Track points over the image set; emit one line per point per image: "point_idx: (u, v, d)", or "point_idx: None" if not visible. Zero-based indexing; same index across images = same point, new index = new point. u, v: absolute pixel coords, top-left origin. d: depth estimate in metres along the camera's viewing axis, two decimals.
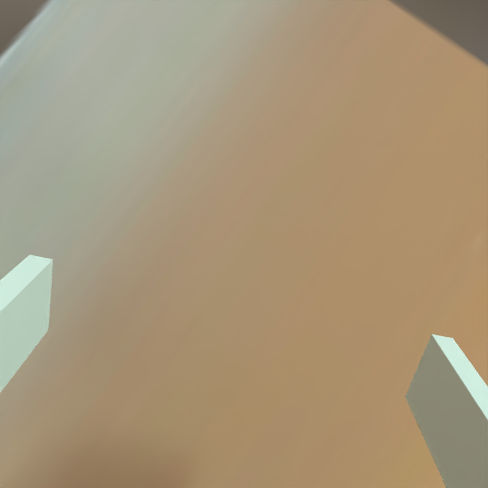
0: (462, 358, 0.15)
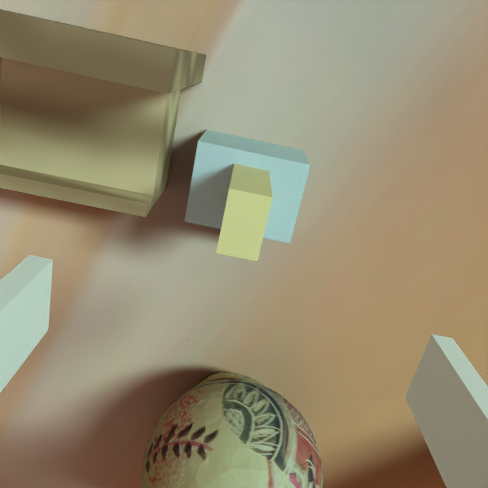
0: (462, 358, 0.15)
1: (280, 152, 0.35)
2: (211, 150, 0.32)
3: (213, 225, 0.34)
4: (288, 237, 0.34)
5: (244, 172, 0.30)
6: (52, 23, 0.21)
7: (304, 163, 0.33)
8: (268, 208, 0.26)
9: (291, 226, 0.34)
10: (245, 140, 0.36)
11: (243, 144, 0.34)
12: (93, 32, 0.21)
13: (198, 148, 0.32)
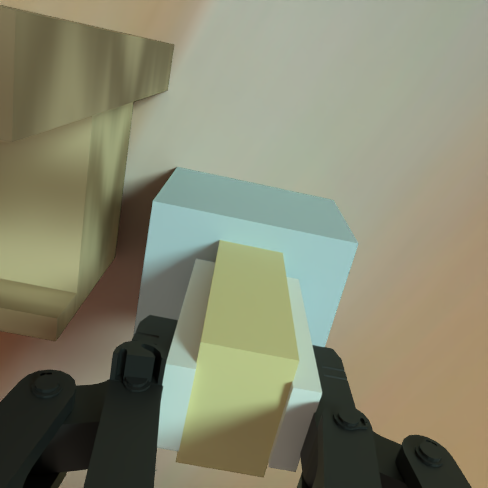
0: (296, 293, 0.16)
1: (300, 212, 0.20)
2: (177, 216, 0.18)
3: None
4: None
5: (237, 267, 0.16)
6: None
7: (346, 240, 0.18)
8: (289, 382, 0.12)
9: (320, 343, 0.20)
10: (240, 187, 0.22)
11: (237, 199, 0.20)
12: None
13: (154, 213, 0.18)
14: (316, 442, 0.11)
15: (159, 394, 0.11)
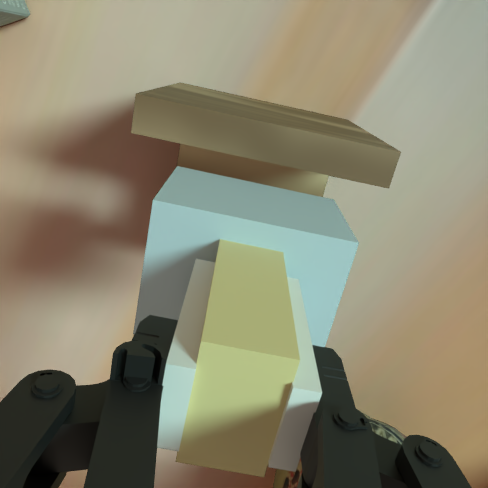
0: (296, 292, 0.16)
1: (301, 212, 0.20)
2: (178, 215, 0.18)
3: None
4: None
5: (238, 266, 0.16)
6: (295, 130, 0.24)
7: (347, 239, 0.18)
8: (290, 381, 0.12)
9: (320, 343, 0.20)
10: (241, 186, 0.22)
11: (237, 198, 0.20)
12: (331, 137, 0.24)
13: (154, 212, 0.18)
14: (316, 442, 0.11)
15: (159, 394, 0.11)
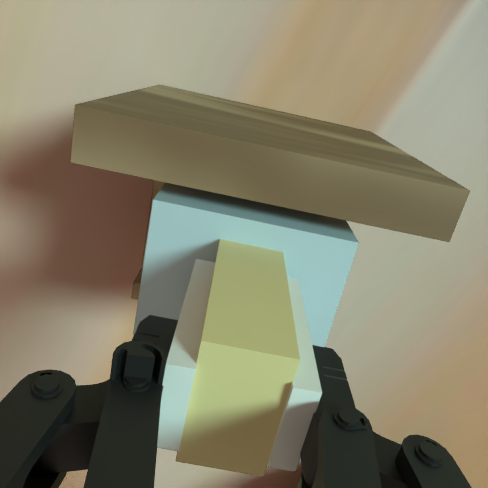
0: (296, 293, 0.16)
1: (301, 211, 0.20)
2: (178, 215, 0.18)
3: None
4: None
5: (238, 266, 0.16)
6: (315, 158, 0.16)
7: (347, 239, 0.18)
8: (290, 381, 0.12)
9: (320, 343, 0.20)
10: None
11: (237, 198, 0.20)
12: (367, 169, 0.16)
13: (154, 212, 0.18)
14: (316, 442, 0.11)
15: (159, 394, 0.11)
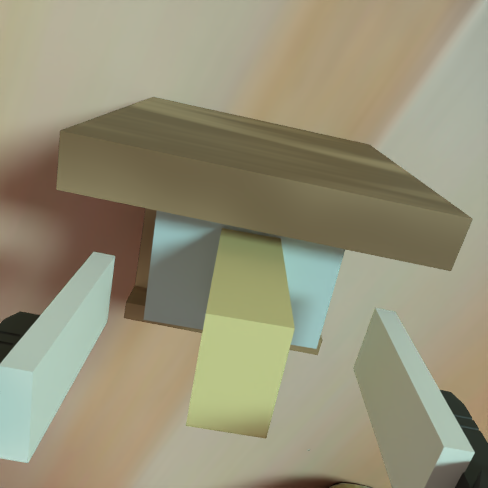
0: (399, 328, 0.16)
1: None
2: None
3: (191, 324, 0.21)
4: (313, 340, 0.21)
5: (238, 251, 0.17)
6: (311, 186, 0.15)
7: None
8: (286, 348, 0.13)
9: (318, 324, 0.21)
10: None
11: None
12: (365, 197, 0.16)
13: None
14: None
15: None
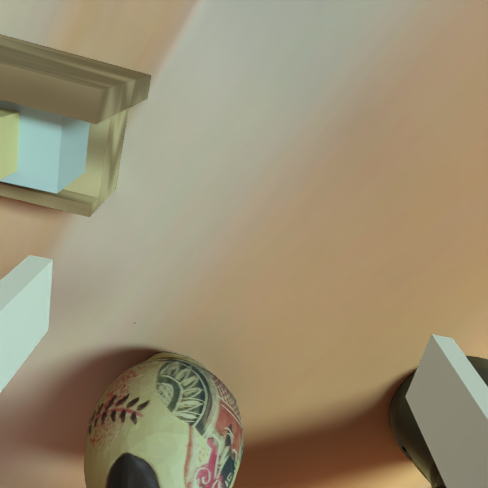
0: (462, 358, 0.15)
1: None
2: None
3: None
4: (53, 187, 0.32)
5: None
6: (1, 64, 0.26)
7: None
8: None
9: (55, 175, 0.32)
10: None
11: None
12: (34, 73, 0.26)
13: None
14: None
15: None
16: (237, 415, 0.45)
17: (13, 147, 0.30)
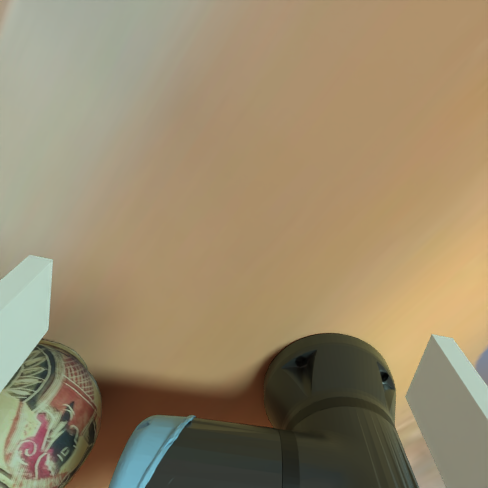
0: (462, 358, 0.15)
1: None
2: None
3: None
4: None
5: None
6: None
7: None
8: None
9: None
10: None
11: None
12: None
13: None
14: None
15: None
16: (87, 394, 0.47)
17: None
